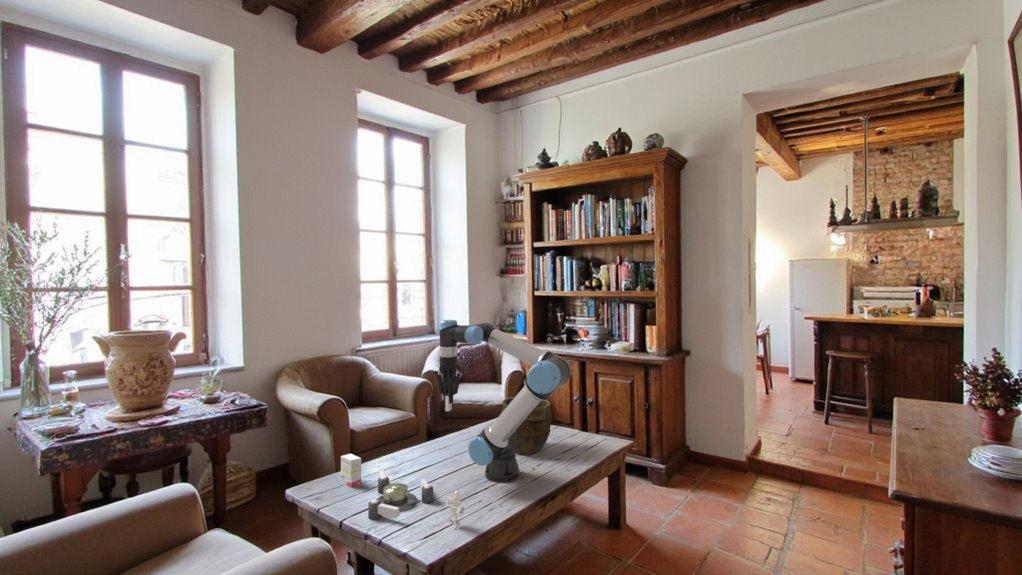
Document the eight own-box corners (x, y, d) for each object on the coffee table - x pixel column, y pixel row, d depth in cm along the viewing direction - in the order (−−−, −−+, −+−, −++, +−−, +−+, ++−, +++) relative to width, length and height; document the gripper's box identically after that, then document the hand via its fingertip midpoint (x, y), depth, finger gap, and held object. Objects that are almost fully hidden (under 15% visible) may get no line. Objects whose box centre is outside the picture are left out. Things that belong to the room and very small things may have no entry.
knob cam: (365, 518, 171) (365, 502, 171) (373, 512, 175) (373, 497, 175) (393, 525, 166) (393, 509, 166) (401, 519, 170) (401, 503, 170)
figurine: (449, 519, 171) (449, 486, 171) (469, 526, 166) (469, 492, 166) (440, 525, 167) (440, 491, 167) (461, 532, 162) (461, 497, 162)
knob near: (434, 502, 183) (434, 487, 183) (422, 504, 181) (422, 489, 181) (428, 489, 194) (428, 475, 194) (417, 491, 193) (417, 477, 193)
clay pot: (560, 447, 245) (560, 399, 245) (535, 463, 224) (535, 410, 223) (517, 439, 259) (517, 392, 258) (491, 453, 237) (491, 402, 237)
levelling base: (436, 501, 186) (436, 483, 186) (400, 529, 164) (400, 509, 164) (382, 489, 196) (382, 472, 196) (341, 514, 175) (341, 496, 175)
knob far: (389, 492, 191) (389, 478, 191) (378, 494, 190) (378, 480, 190) (386, 480, 203) (386, 467, 203) (375, 482, 201) (375, 469, 201)
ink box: (362, 485, 200) (361, 457, 199) (351, 489, 196) (351, 460, 196) (351, 480, 205) (350, 452, 205) (340, 483, 202) (340, 455, 201)
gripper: (465, 355, 207) (466, 409, 208) (440, 353, 212) (440, 406, 213) (457, 358, 200) (457, 414, 201) (430, 356, 206) (430, 411, 206)
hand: (448, 410), depth 207 cm, fingers closed
